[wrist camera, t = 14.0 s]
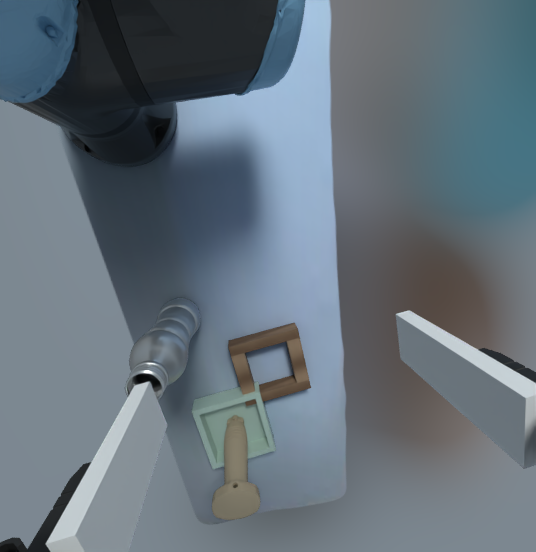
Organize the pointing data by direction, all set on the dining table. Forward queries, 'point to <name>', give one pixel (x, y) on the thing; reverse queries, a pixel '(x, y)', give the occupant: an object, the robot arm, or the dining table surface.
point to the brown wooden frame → (266, 339)
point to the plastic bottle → (164, 347)
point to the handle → (235, 476)
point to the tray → (224, 406)
